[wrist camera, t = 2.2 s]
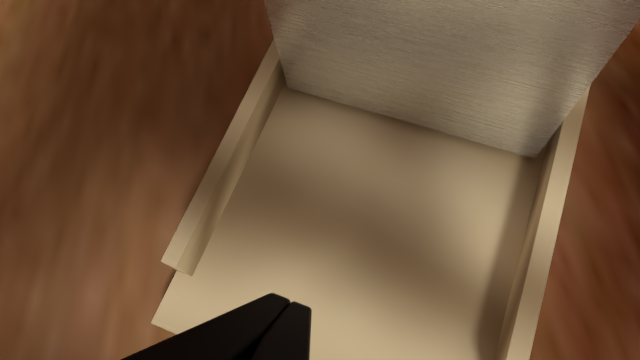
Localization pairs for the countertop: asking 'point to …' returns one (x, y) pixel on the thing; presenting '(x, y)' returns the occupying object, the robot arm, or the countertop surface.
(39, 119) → the countertop surface
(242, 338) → the robot arm
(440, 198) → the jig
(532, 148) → the white square slab
